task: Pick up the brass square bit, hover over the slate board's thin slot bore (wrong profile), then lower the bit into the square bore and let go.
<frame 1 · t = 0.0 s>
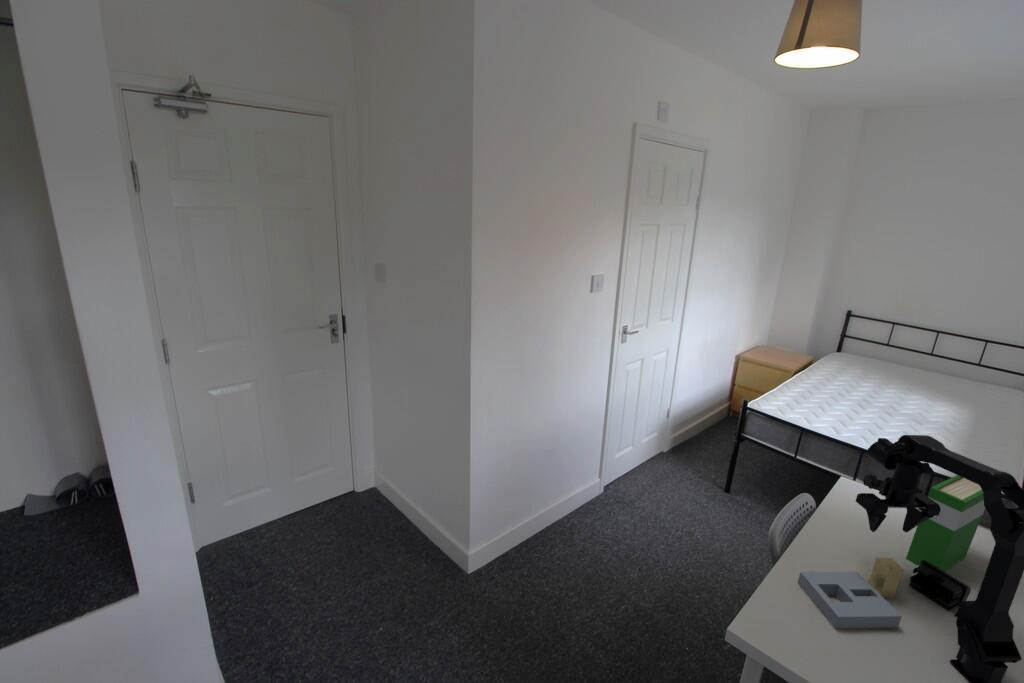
hand: (888, 531, 125), 15 cm above the table, fingers open, 9 cm apart
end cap: (934, 595, 124), on the table
slate bore board: (844, 603, 120), on the table
brass square bit: (880, 591, 124), on the table
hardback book: (935, 558, 138), on the table
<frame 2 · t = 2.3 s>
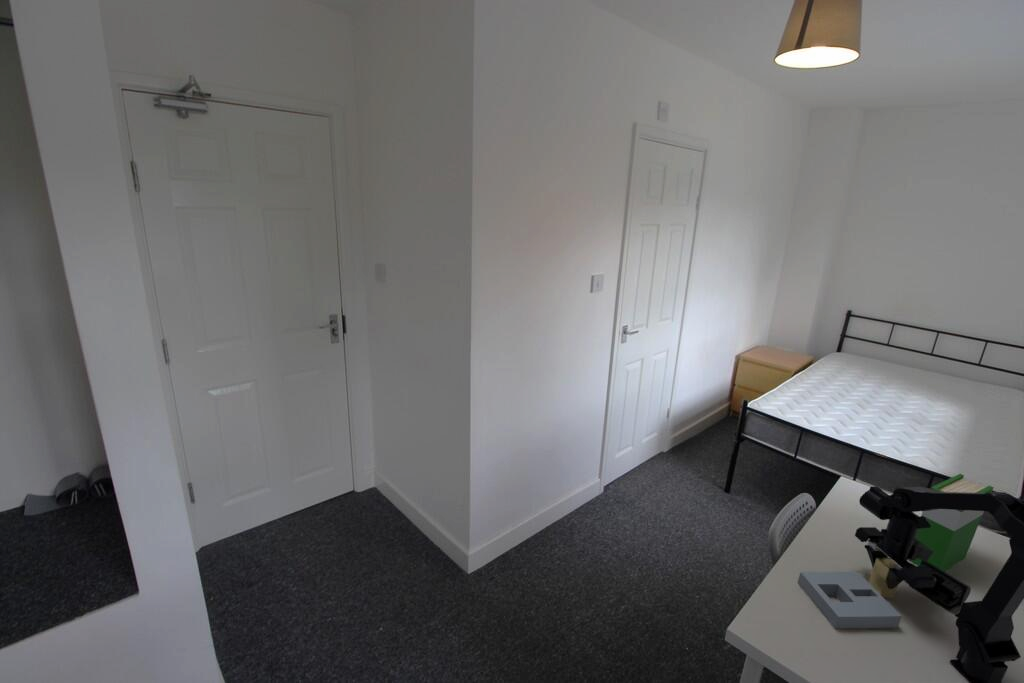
hand: (883, 582, 123), 3 cm above the table, fingers closed on brass square bit, 4 cm apart
brass square bit: (880, 591, 124), on the table, touching gripper
everything else where it was.
when the fingers open (4 cm above the table, at t = 8.2 s): brass square bit drops 1 cm, resting in slate bore board.
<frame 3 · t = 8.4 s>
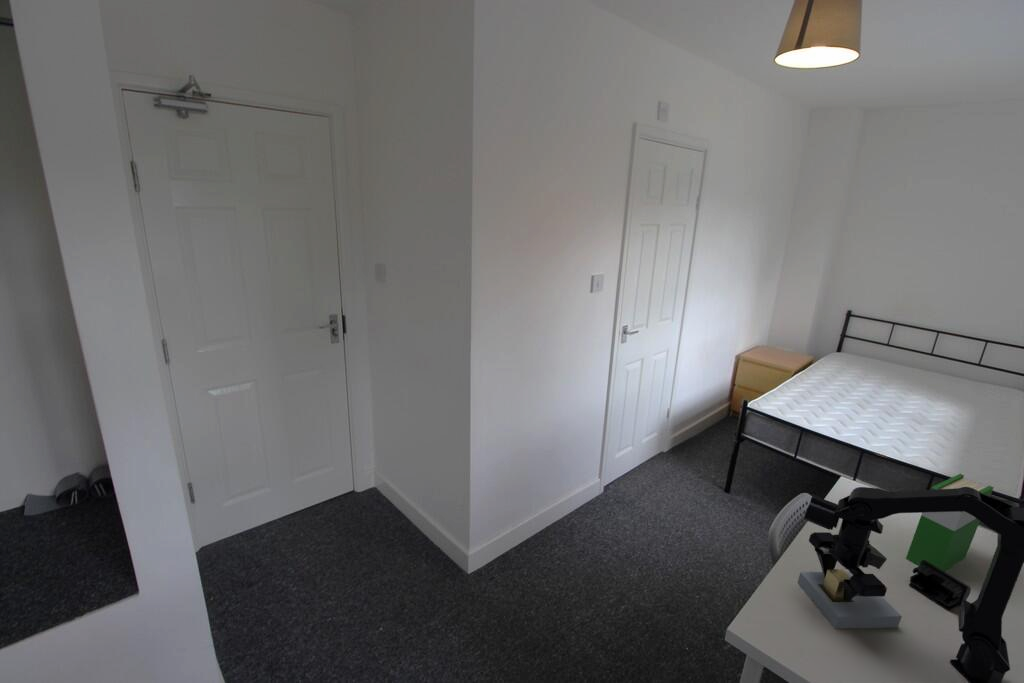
hand: (836, 589, 118), 4 cm above the table, fingers open, 6 cm apart
brass square bit: (831, 604, 119), resting in slate bore board
everything else where it was.
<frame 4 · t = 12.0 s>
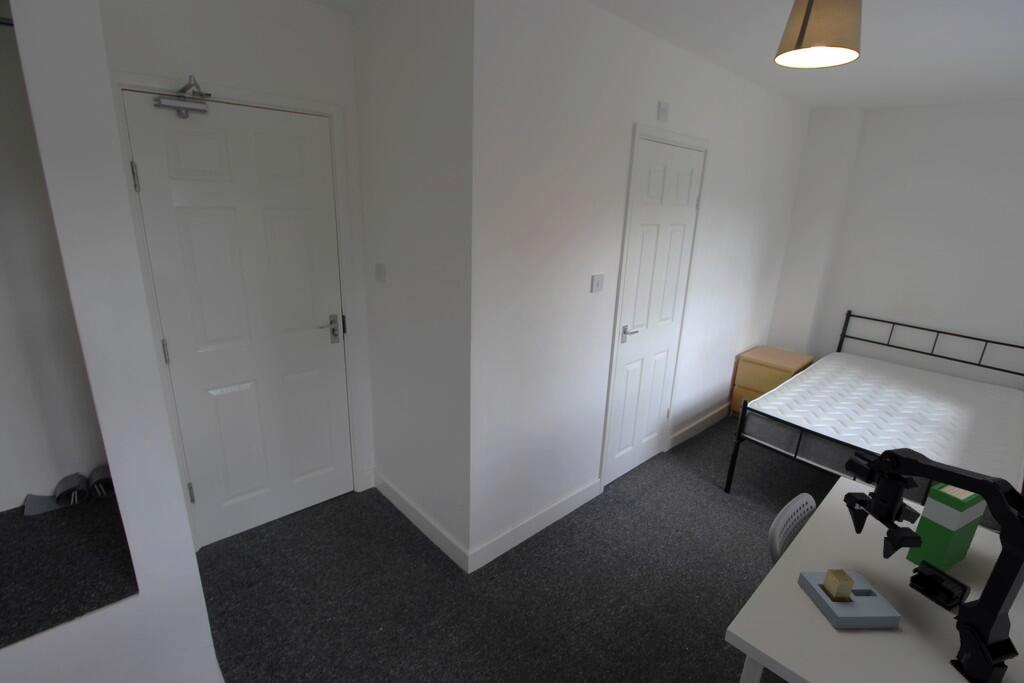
hand: (871, 545, 123), 12 cm above the table, fingers open, 9 cm apart
nothing on the table moved.
at the end: brass square bit 0.0 cm from the target spot on the slate bore board, point 0.0 cm above the slate bore board's base; brass square bit tilted 0°; the gripper is holding nothing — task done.
